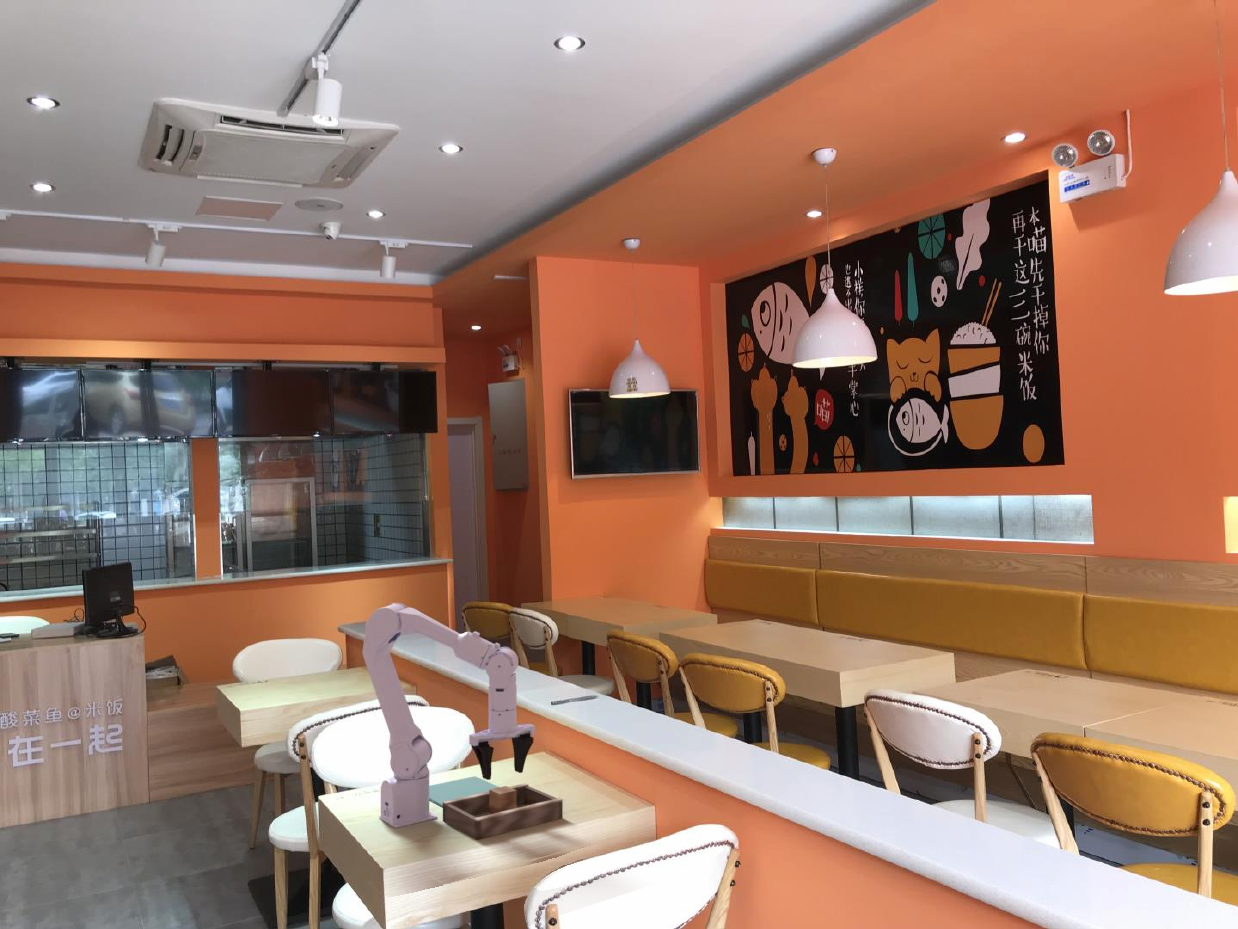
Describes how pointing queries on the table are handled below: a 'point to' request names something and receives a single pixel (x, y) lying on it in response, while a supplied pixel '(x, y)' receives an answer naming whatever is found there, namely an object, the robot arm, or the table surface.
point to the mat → (458, 789)
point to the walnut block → (501, 799)
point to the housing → (505, 821)
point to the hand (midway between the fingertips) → (502, 775)
